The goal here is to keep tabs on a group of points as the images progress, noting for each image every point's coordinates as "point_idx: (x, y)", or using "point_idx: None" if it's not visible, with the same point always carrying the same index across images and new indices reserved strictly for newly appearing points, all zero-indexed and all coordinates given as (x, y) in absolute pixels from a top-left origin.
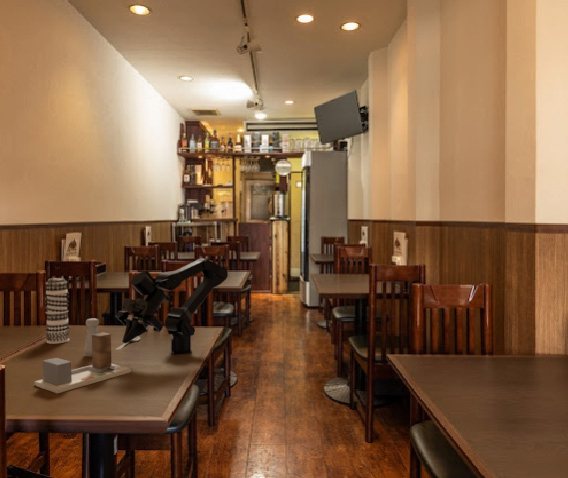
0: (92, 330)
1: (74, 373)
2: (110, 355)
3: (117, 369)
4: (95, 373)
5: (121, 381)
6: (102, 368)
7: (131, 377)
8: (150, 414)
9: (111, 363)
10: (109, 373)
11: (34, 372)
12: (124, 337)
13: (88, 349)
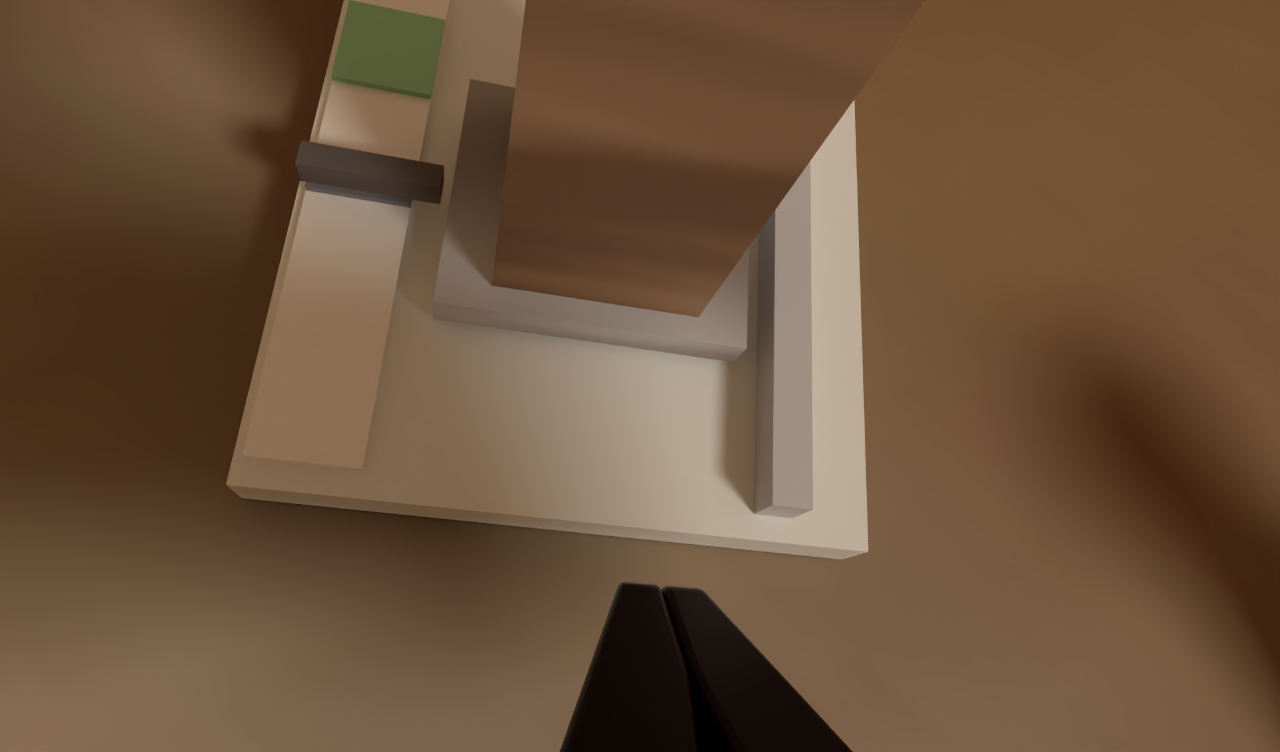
0: None
1: None
2: (507, 175)
3: (368, 315)
4: None
5: (41, 123)
6: (505, 137)
7: (20, 312)
8: None
9: (494, 268)
10: (321, 127)
11: (1215, 37)
12: (716, 663)
13: None
